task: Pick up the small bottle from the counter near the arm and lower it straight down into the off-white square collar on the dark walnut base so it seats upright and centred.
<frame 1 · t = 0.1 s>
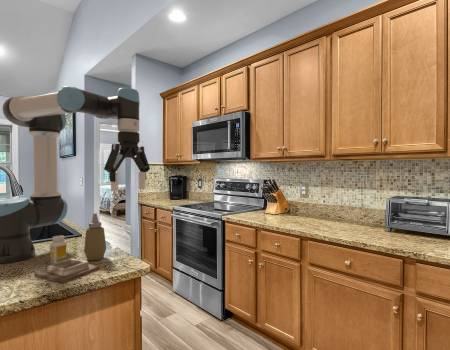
hand: (129, 190, 103), 28 cm above the counter, tool pointing down, fingers open, 13 cm apart
supplement bottle: (58, 261, 108), on the counter
collar holder: (68, 272, 97), on the counter
squeeze bottle: (95, 259, 112), on the counter
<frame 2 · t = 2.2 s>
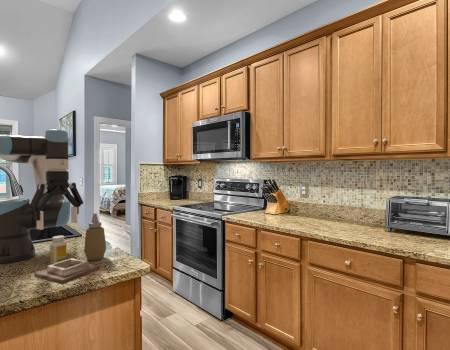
hand: (58, 225, 108), 14 cm above the counter, tool pointing down, fingers open, 13 cm apart
nothing on the counter moved.
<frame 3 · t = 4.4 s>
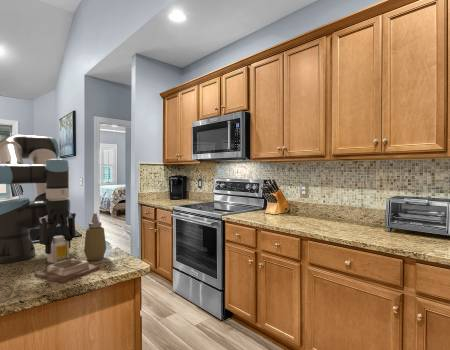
hand: (58, 259, 108), 1 cm above the counter, tool pointing down, fingers closed on supplement bottle, 5 cm apart
supplement bottle: (58, 261, 108), on the counter, touching gripper
everything else where it was.
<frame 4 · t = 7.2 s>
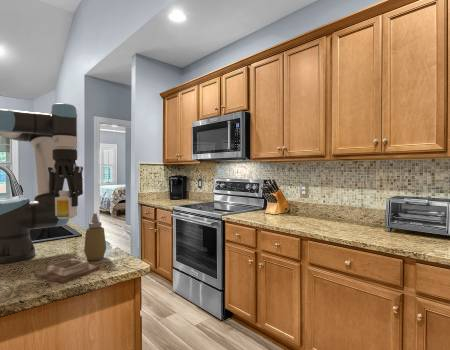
hand: (66, 215, 98), 19 cm above the counter, tool pointing down, fingers closed on supplement bottle, 5 cm apart
supplement bottle: (66, 218, 98), point 18 cm above the counter, touching gripper
everything else where it was.
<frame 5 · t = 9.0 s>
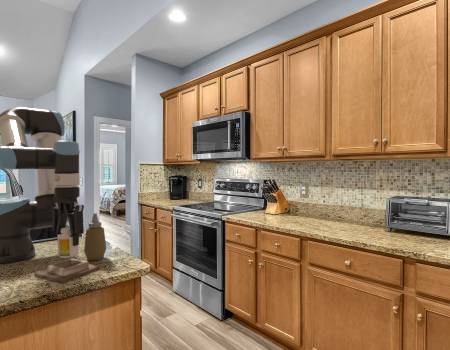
hand: (68, 253, 97), 7 cm above the counter, tool pointing down, fingers closed on supplement bottle, 5 cm apart
supplement bottle: (68, 256, 96), point 6 cm above the counter, touching gripper
everything else where it was.
when the fingers open (4 cm above the counter, at t = 10.4 s): supplement bottle drops 2 cm, resting on collar holder.
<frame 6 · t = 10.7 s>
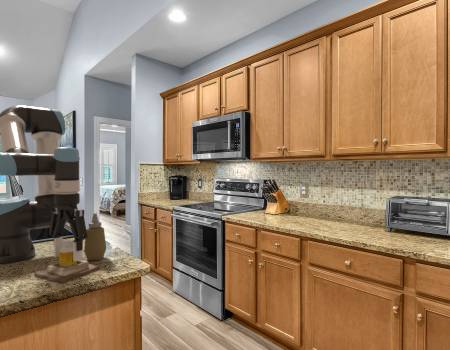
hand: (68, 257, 97), 5 cm above the counter, tool pointing down, fingers open, 9 cm apart
supplement bottle: (68, 269, 97), point 1 cm above the counter, touching collar holder
everything else where it was.
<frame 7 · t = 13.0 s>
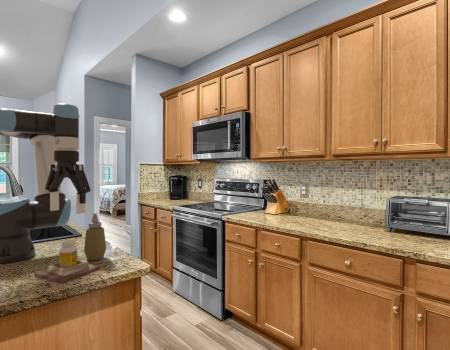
hand: (67, 211, 97), 21 cm above the counter, tool pointing down, fingers open, 13 cm apart
nothing on the counter moved.
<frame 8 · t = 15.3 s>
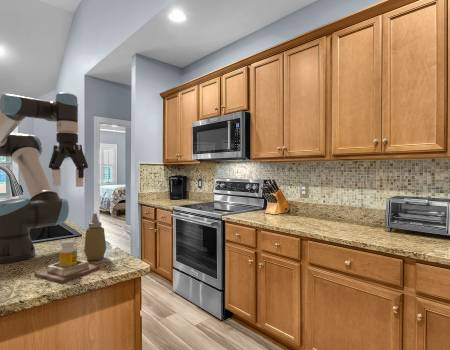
hand: (68, 186, 112), 29 cm above the counter, tool pointing down, fingers open, 13 cm apart
nothing on the counter moved.
at the end: supplement bottle 0.2 cm off-centre on the collar holder, point 0.8 cm above the collar holder's base; supplement bottle tilted 1°; the gripper is holding nothing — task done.
